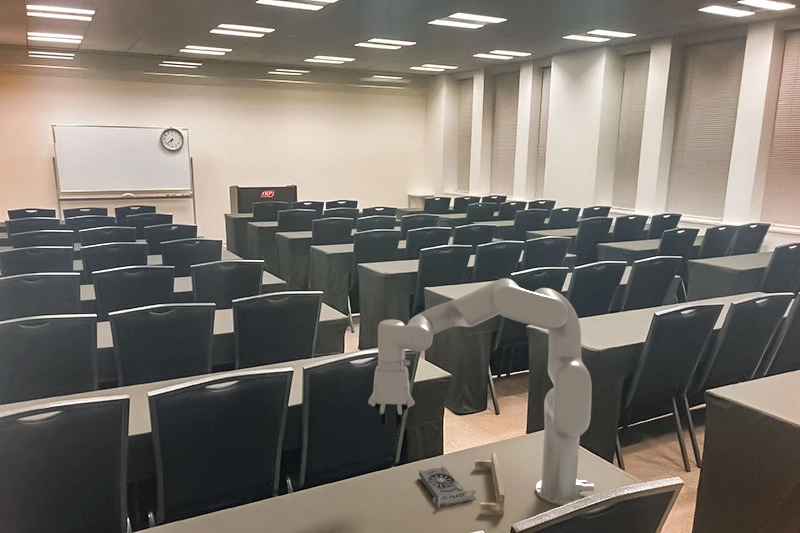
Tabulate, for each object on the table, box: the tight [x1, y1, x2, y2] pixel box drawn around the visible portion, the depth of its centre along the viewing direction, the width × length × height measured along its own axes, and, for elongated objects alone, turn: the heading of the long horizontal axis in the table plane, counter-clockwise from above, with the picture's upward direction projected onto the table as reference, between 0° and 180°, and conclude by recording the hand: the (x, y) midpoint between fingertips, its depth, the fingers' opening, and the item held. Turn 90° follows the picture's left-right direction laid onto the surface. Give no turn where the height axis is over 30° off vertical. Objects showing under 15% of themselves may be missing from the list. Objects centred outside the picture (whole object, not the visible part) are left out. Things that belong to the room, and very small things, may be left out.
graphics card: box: [418, 465, 477, 509], centre depth 164 cm, size 17×4×12 cm
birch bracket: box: [474, 451, 505, 516], centre depth 162 cm, size 6×23×6 cm, turn 176°
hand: (391, 424), depth 161 cm, fingers open, 3 cm apart
